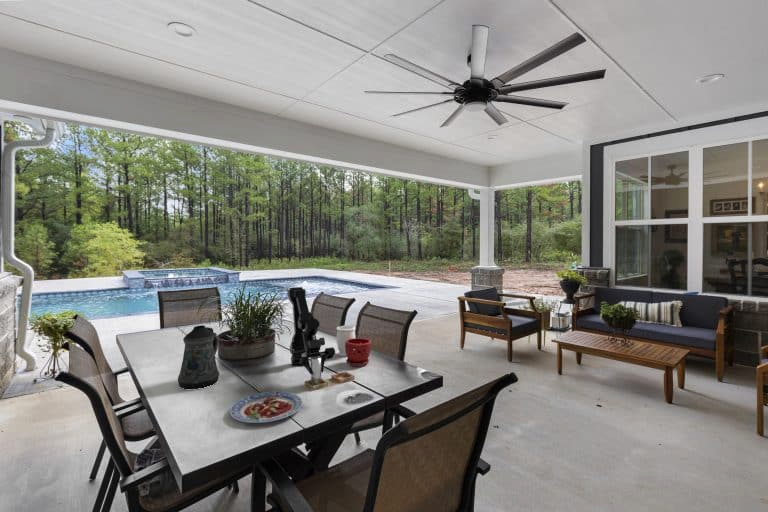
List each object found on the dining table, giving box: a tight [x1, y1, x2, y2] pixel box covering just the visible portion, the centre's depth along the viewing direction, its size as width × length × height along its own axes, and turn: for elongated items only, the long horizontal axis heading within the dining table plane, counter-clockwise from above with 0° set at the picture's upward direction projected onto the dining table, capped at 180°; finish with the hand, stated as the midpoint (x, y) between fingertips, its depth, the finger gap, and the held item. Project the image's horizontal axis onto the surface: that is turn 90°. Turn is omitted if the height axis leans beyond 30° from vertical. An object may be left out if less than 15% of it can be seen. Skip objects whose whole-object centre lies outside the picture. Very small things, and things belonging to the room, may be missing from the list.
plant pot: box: [345, 337, 372, 367], centre depth 193 cm, size 13×13×12 cm
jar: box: [336, 325, 356, 357], centre depth 208 cm, size 11×10×15 cm
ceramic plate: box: [229, 390, 304, 424], centre depth 140 cm, size 26×26×3 cm
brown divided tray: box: [302, 371, 357, 392], centre depth 166 cm, size 22×8×2 cm, turn 126°
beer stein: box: [177, 324, 220, 390], centre depth 168 cm, size 16×19×25 cm
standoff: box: [310, 356, 322, 386], centre depth 162 cm, size 4×4×12 cm
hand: (316, 373), depth 161 cm, fingers open, 5 cm apart
